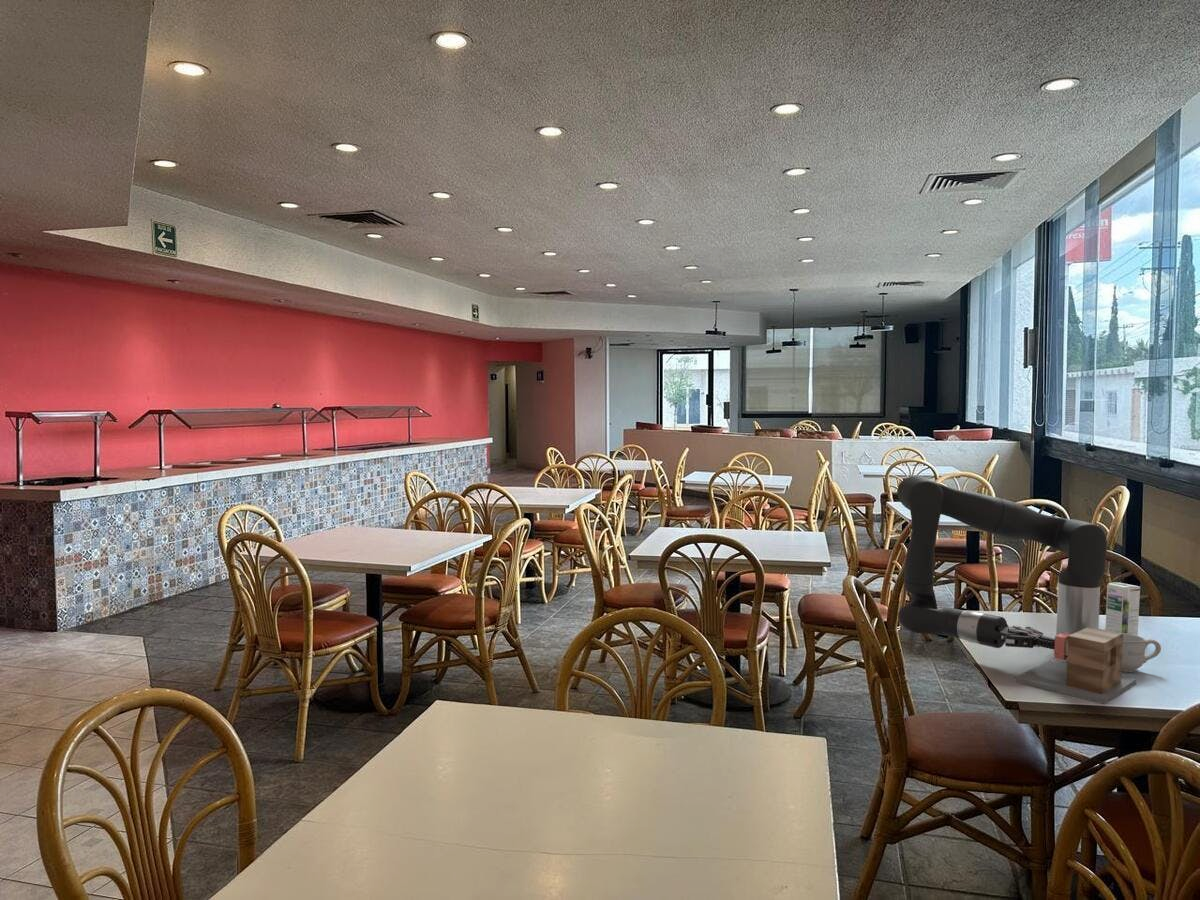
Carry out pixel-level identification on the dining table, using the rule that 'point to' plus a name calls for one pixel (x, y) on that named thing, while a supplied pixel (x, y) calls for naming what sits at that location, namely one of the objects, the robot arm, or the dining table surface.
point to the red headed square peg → (1061, 646)
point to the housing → (1094, 659)
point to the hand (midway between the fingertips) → (1058, 644)
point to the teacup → (1136, 652)
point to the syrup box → (1122, 608)
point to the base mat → (1055, 677)
